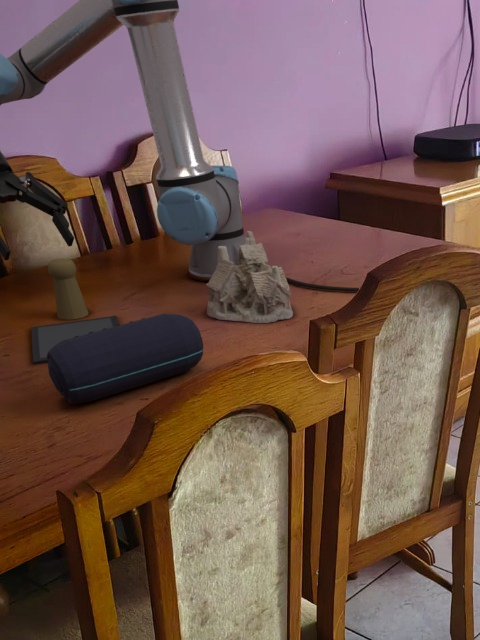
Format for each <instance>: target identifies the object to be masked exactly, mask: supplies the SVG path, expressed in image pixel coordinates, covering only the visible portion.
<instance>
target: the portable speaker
mask: <svg viewBox="0 0 480 640" xmlns="http://www.w3.org/2000/svg"><path fill="white" fill-rule="evenodd" d="M203 355H204V342H203V337H202V334H201V331H200V329H199V327H198V326H197V325H196V323H195V322H194V321H193V320H192V319H191V318H189V317H188V316H186V315H182V314H178V313H161V314H157V315H153V316H149V317H142V318H141V319H138V320H135V321H129V322H127V323H123V324H119V325H116V326H115V327H111V328H108V329H106V328H104V329H103V330H100V331H96V332H90V333H88V334H85V335H82V336H75V337H74V338H70V339H66V340H63V341H61V342H60V343H58V344H56V345H55V346H54V347H53V348H52V349H50V350H49V351H48V354H47V359H48V362H47V370H48V375H49V377H50V380H51V381H52V383H53V385H54V388H55V390H57V392H58V393H59V394H60V395H61V396H62V397H63V398H64V399H65V400H66V402H68V403H69V404H76V405H78V404H85V403H90V402H94V401H98V400H101V399H103V398H106V397H109V396H113V395H116V394H119V393H123V392H126V391H129V390H133V389H136V388H138V387H142V386H144V385H145V386H146V385H148V384H151V383H155V382H158V381H161V380H164V379H167V378H170V377H171V378H172V377H174V376H178V375H180V374H183V373H186V372H187V371H189V370H191V369H193V368H195V367H196V366H197V365H198V364H199V362H201V361H202V357H203Z"/></svg>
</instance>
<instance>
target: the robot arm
mask: <svg viewBox="0 0 480 640" xmlns="http://www.w3.org/2000/svg"><path fill="white" fill-rule="evenodd" d="M179 12H180V6H179V1H178V0H78V1H77V2H76V3H74V4H73V5H71V6H70V7H69V8H68V9H67V10H65V12H63V13H62V14H60V15H59V16H58V17H57V18H55V19H54V20H53V21H52V22H50V24H48V25H47V26H46V27H44V28H43V29H42V30H41V31H40V32H38V33H37V34H36V35H34V36H33V37H32V38H31V39H29V40H28V41H27V42H26V43H24V45H22V46H21V47H20V48H19V49H17V50H16V51H15V52H14V53H12V54H11V55H9V56H8V57H5V55H3V54H1V53H0V106H2V105H4V104H9V103H13V102H17V101H22V100H30V99H33V98H35V97H36V96H40V94H42V93H43V91H44V90H45V88H46V85H47V84H48V83H50V82H51V81H52V80H53V79H55V78H56V77H58V76H59V75H60V74H61V73H63V72H64V71H65V70H66V69H68V68H69V67H71V66H72V65H73V64H75V63H76V62H77V61H78V60H79V59H81V58H82V57H84V56H85V55H86V54H87V53H89V52H90V51H91V50H92V49H94V48H95V47H97V46H98V45H99V44H101V43H102V42H103V41H104V40H106V39H108V37H110V36H111V35H112V34H114V33H115V32H116V31H117V30H119V29H120V28H122V27H123V26H125V27H126V30H127V33H128V36H129V40H130V44H131V45H130V46H131V49H132V53H133V57H134V62H135V66H136V69H137V73H138V77H139V81H140V85H141V89H142V93H143V97H144V102H145V107H146V110H147V114H148V119H149V122H150V126H151V131H152V134H153V138H154V142H155V143H154V144H155V147H156V150H157V156H158V159H159V163H160V169H159V170H158V172H157V174H156V175H155V179H156V182H157V187H158V191H159V196H160V197H159V199H158V201H157V206H156V216H157V219H158V223H159V225H160V227H161V229H162V230H163V232H164V233H165V234H166V235H167V236H168V237H169V238H171V239H172V240H174V241H175V242H177V243H179V244H182V245H184V246H191V248H190V254H189V255H190V256H189V261H188V273H189V276H190V278H192V279H193V280H197V281H201V282H207V283H209V280H210V279H211V277H212V274H214V272H215V270H216V268H217V265H218V260H217V259H218V247H219V246H226V248H227V252H228V256H229V261H231V262H233V263H235V265H236V266H237V265H240V263H239V261H238V258H239V248H240V247H239V246H241V245H244V238H245V237H246V236H245V229H244V222H243V212H242V205H241V204H242V203H241V197H240V188H239V187H240V186H239V184H240V182H239V179H238V174H237V170H236V169H235V168H234V167H233V166H231V165H211V164H209V163H208V162H207V161H205V159H204V154H203V150H202V146H201V145H202V144H201V140H200V136H199V132H198V127H197V122H196V117H195V113H194V108H193V104H192V100H191V96H190V90H189V85H188V82H187V77H186V72H185V67H184V63H183V59H182V55H181V50H180V44H179V40H178V36H177V31H176V26H175V21H176V18H177V16H178V14H179ZM20 192H21V194H20ZM16 201H18V202H20V203H23V204H24V203H25V204H28V206H29V205H30V206H32V207H33V208H35V209H37V210H39V211H41V212H43V213H44V214H47V215H48V216H50V217H52V219H51V221H52V223H53V225H54V226H55V228H56V229H57V231H58V233H59V234H60V235H61V238H62V239H63V240H64V242H65V243H66V245H67V247H72V246H73V244H74V241H75V236H74V234H73V233H72V232H71V230H70V222H69V220H68V219H67V217H66V216H65V214H66V213H67V210H68V205H69V204H68V202H66V201H65V200H63V199H62V198H61V197H60V196H58V195H57V194H55V193H54V192H53V191H51V190H50V189H49V188H48V187H46V186H45V185H44V184H42V183H41V182H40V181H38V180H37V179H36V177H35V176H34V175H33V174H32V172H30V171H26V172H25V175H22V176H20V177H19V176H18V175H17V174H15V173H14V170H13V168H12V166H11V165H10V163H9V161H8V160H7V158H6V157H5V155H4V154H3V152H2V150H0V204H1V205H3V204H5V203H7V202H10V203H13V202H16ZM0 255H1V256H2V258H3V260H4V261H9V260H10V256H11V249H10V248H9V247H8V245H7V244H6V242H5V240H4V239H3V237H2V236H1V235H0ZM285 277H286V276H285ZM286 280H287V282H288V283H289V284H293V285H296V286H300V287H305V288H311V289H317V290H324V291H333V292H334V291H337V292H356V293H358V292H357V291H358V290H359V288H360V287H346V286H332V285H322V284H315V283H309V282H304V281H299V280H296V279H292V278H290V277H286Z"/></svg>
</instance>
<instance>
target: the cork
mask: <svg viewBox="0 0 480 640" xmlns="http://www.w3.org/2000/svg"><path fill="white" fill-rule="evenodd" d="M47 271H48V274H49V276H50V277H51V278H52V280H53V287H54V288H53V289H54V297H55V298H54V299H55V305H56V306H55V307H56V316H57V318H58V319H60V320H63V321H65V320H66V321H67V320H69V321H70V320H78V319H83V318H84V317H87V316H88V315H89V310H88V307H87V304H86V302H85V300H84V296H83V294H82V292H81V289H80V286H79V283H78V280H77V278H76V273H77V267H76V264H75V262H74V261H73V260H72V259H70V258H56V259H53V260H51V261H49V262H48V264H47Z"/></svg>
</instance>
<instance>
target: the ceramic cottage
mask: <svg viewBox="0 0 480 640" xmlns="http://www.w3.org/2000/svg"><path fill="white" fill-rule="evenodd" d="M239 247H240V248H239V258H238V261H239V263H240V265H237V266H236V265H235V263H233V262H231V261H229V256H228V252H227V248H226V246H219V247H218V259H217V260H218V265H217V268H216V270H215V272H214V274H212V277H211V279H210V280H209V282H207V283H206V286H207V288H209V291H208V299H209V301H208V302H207V303H206V306H207V308H206V311H207V312H206V315H208V316H209V317H210V318H213V319H216V320H219V321H233V322H244V323H253V324H270V323H274V322H278V321H281V320H282V321H283V320H288V319H289V320H290V319H291V318H292V317H293V316H294V311H293V308H292V306H291V301H290V296H291V295H292V292H291V290H290V289H291V288H290V285H289V282H287V280H286V276H285V272H284V270H283V268H282V266H279V267H278V265H272V266H271V265H269V259H268V255H267V253H266V251H265V248H264V245H263V243H262V242H260V243H257V242H256V240H255V236H254V233H253V231H249V230H247V231H246V236H245V238H244V245H241V246H239Z"/></svg>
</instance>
